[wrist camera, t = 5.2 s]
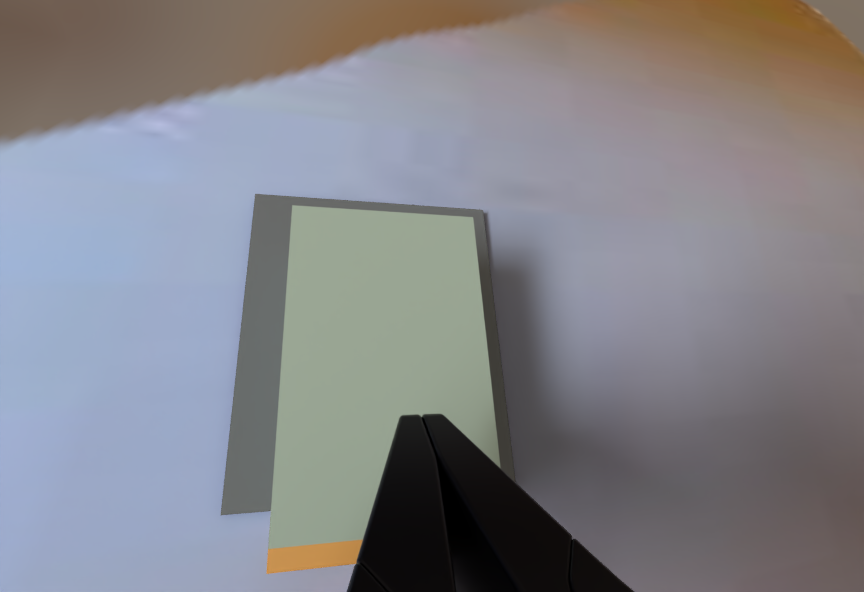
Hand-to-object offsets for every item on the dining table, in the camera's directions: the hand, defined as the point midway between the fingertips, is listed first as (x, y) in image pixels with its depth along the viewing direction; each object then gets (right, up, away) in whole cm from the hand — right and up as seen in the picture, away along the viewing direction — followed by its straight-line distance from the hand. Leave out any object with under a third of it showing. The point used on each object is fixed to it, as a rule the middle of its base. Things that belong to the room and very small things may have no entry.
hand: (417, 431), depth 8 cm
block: (-1, -5, +4) cm, 6 cm away
